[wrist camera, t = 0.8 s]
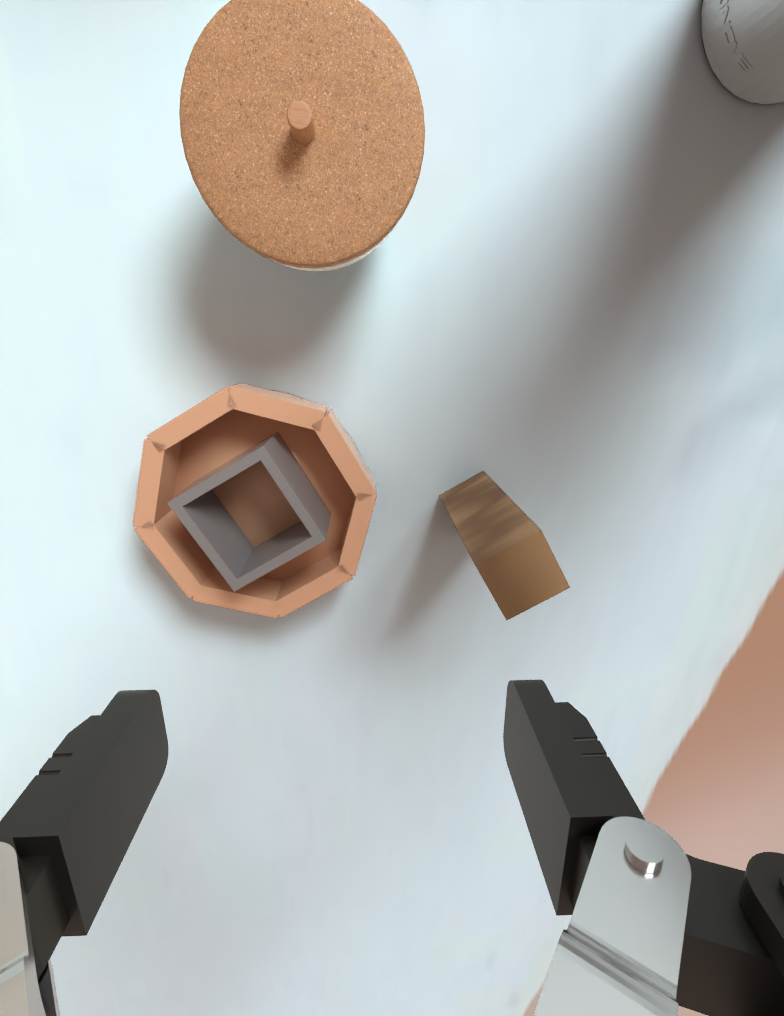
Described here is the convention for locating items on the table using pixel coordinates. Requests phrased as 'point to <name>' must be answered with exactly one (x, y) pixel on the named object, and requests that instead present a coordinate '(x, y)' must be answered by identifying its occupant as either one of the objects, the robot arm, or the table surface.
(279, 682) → the table surface
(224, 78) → the lidded jar
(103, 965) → the table surface
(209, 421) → the candle pot
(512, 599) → the brown long rectangular block
